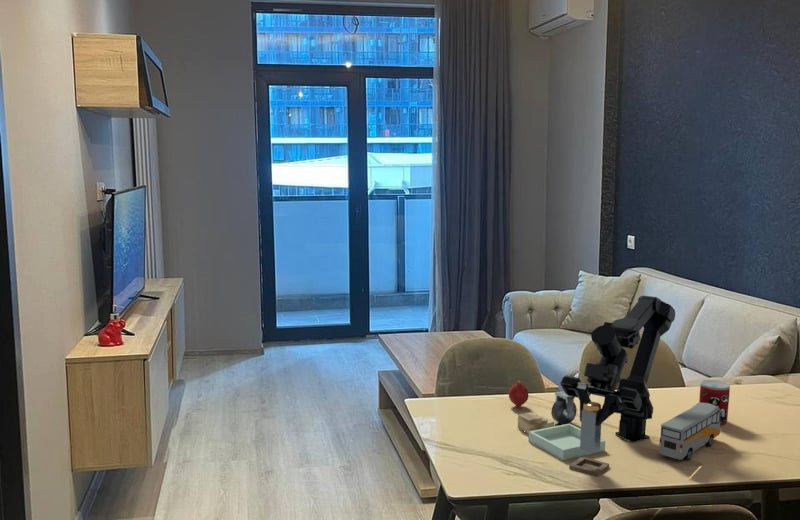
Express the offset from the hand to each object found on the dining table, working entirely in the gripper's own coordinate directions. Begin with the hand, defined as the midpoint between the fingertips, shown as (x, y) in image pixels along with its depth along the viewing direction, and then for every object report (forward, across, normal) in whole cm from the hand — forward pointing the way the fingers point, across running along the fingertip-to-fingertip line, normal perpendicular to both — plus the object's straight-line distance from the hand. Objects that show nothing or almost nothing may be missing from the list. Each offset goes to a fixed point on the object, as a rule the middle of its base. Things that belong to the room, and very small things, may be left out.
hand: (588, 423), depth 170 cm
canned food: (-31, +13, +48) cm, 59 cm away
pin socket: (+7, 0, +9) cm, 12 cm away
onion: (-13, -35, +30) cm, 48 cm away
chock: (-4, -22, +21) cm, 31 cm away
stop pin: (+4, 0, +6) cm, 7 cm away
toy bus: (-13, +15, +30) cm, 36 cm away
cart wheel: (-10, -18, +27) cm, 34 cm away
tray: (+1, -10, +16) cm, 19 cm away
